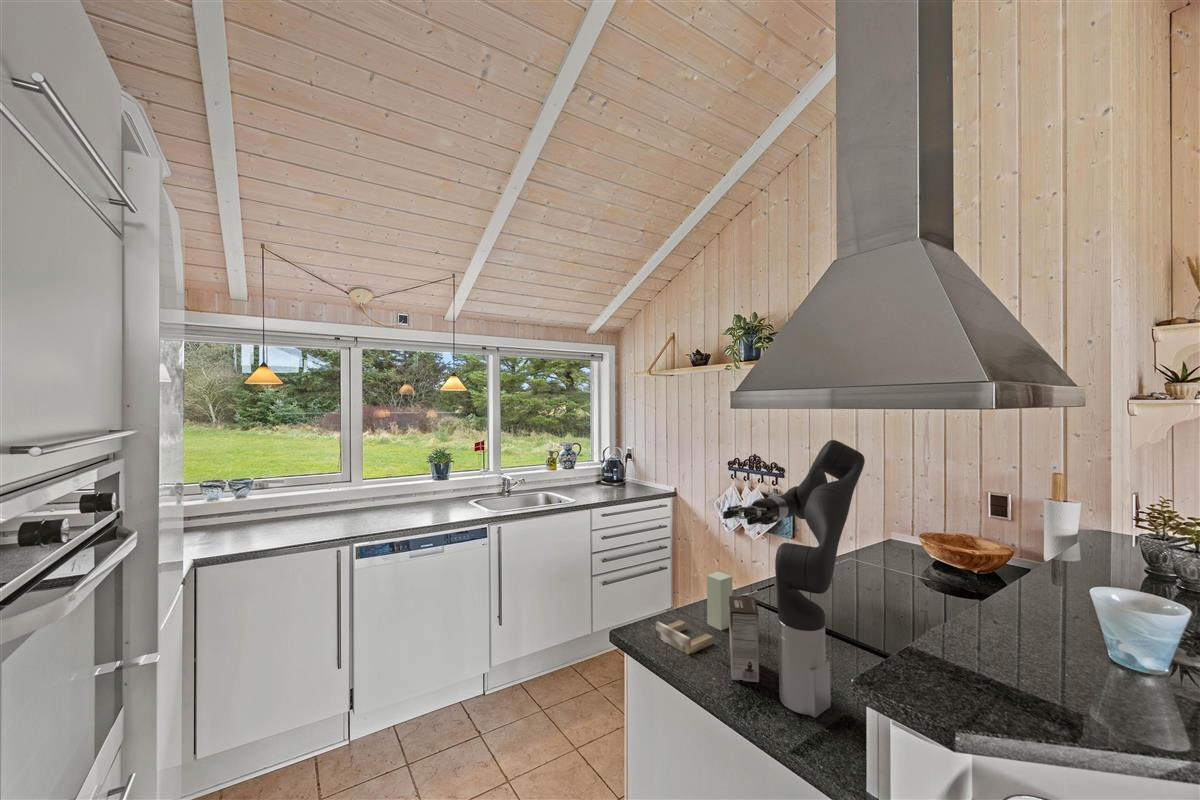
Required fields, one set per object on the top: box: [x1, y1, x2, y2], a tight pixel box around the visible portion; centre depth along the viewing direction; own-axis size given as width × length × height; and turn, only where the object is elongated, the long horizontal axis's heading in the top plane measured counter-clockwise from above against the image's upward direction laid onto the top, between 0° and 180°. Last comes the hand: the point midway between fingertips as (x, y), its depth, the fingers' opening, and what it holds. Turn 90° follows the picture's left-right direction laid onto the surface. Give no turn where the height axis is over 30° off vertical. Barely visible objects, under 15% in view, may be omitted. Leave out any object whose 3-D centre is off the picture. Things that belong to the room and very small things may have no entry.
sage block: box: [706, 571, 733, 631], centre depth 140 cm, size 5×5×14 cm
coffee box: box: [728, 595, 760, 683], centre depth 116 cm, size 9×6×16 cm
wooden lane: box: [655, 619, 714, 656], centre depth 131 cm, size 12×9×4 cm
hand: (735, 518), depth 141 cm, fingers open, 8 cm apart
